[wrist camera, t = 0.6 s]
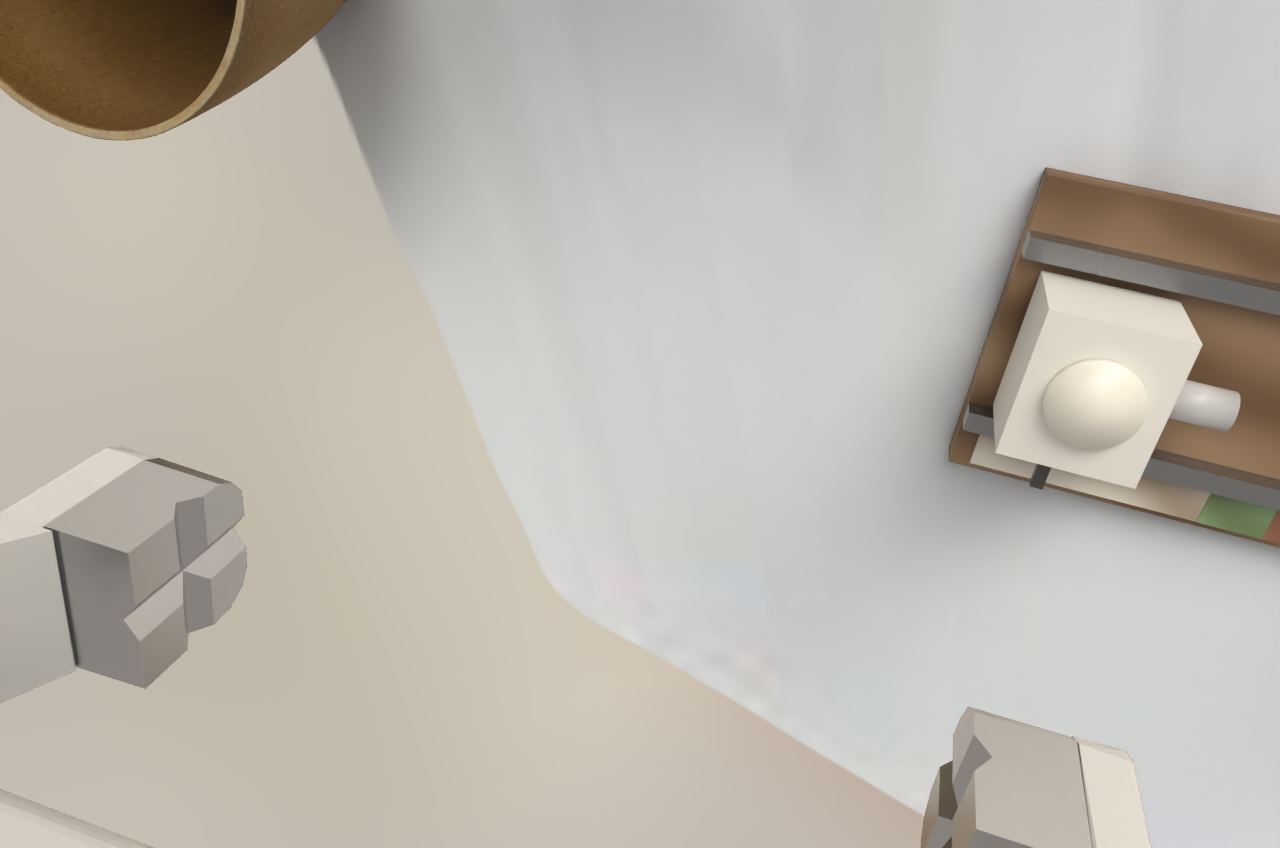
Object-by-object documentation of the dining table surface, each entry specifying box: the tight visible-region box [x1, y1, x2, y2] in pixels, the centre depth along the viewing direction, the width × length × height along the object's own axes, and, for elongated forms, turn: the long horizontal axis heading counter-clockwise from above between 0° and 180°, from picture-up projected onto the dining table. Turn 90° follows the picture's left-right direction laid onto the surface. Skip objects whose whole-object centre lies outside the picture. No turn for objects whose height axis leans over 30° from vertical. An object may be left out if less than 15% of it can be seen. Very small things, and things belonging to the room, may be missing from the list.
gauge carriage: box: [993, 270, 1240, 489], centre depth 45 cm, size 10×9×6 cm
